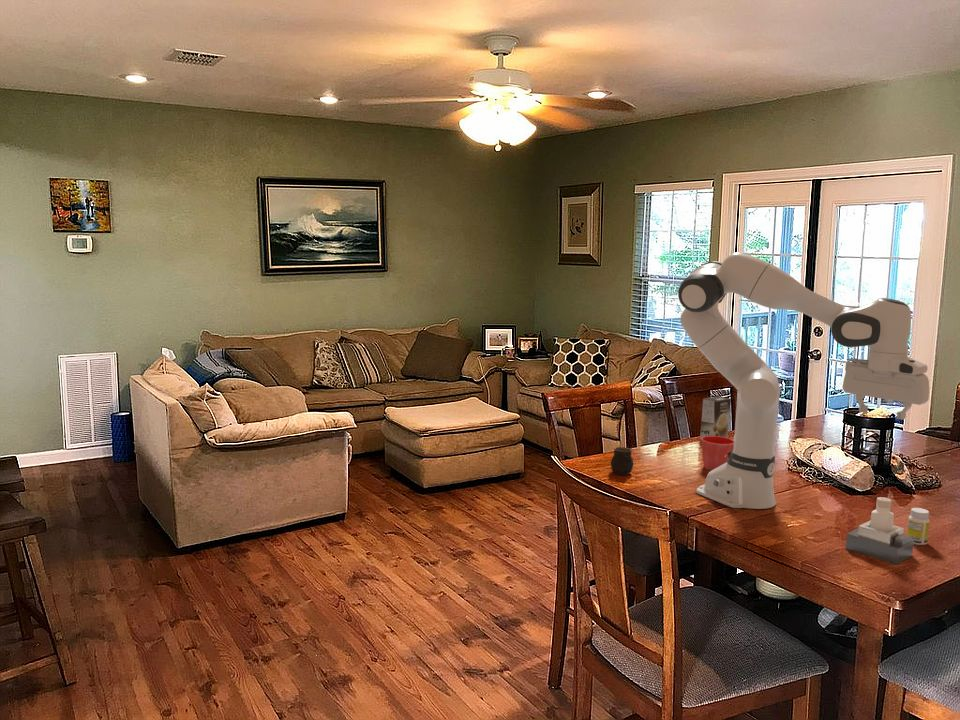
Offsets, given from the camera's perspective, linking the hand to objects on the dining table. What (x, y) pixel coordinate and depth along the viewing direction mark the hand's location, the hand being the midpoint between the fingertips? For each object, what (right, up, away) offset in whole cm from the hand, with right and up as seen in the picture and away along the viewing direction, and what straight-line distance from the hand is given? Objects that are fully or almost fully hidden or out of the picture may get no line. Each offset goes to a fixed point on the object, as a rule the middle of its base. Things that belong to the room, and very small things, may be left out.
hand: (881, 415), depth 201 cm
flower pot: (-25, -22, +58) cm, 67 cm away
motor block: (-5, -33, -9) cm, 35 cm away
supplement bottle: (+8, -32, -2) cm, 33 cm away
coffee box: (-15, -16, +94) cm, 97 cm away
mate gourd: (-58, -22, +50) cm, 80 cm away
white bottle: (-5, -29, -10) cm, 31 cm away
